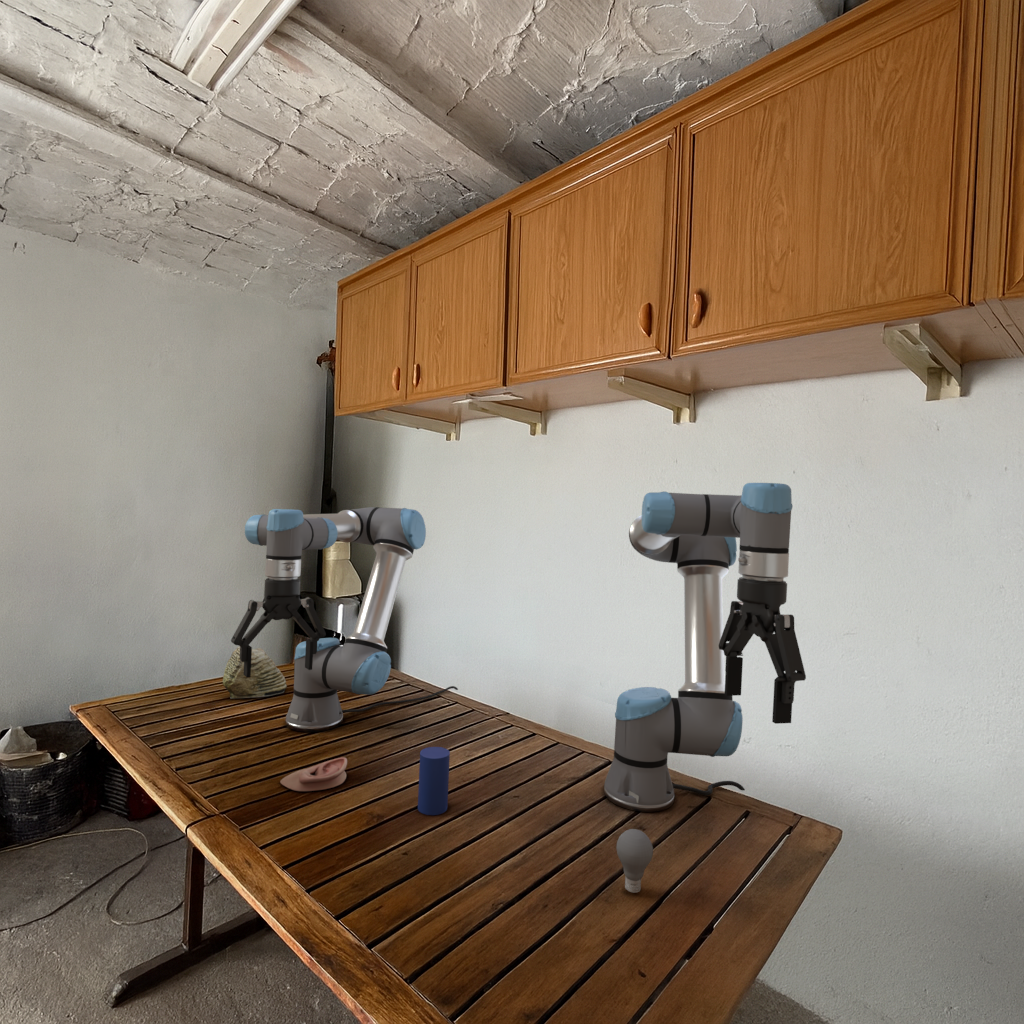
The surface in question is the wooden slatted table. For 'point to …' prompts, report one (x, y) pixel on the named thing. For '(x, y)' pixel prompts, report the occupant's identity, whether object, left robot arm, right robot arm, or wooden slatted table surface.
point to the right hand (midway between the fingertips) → (755, 708)
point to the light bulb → (634, 857)
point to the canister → (433, 780)
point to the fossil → (253, 676)
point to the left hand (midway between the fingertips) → (278, 672)
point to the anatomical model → (317, 776)
